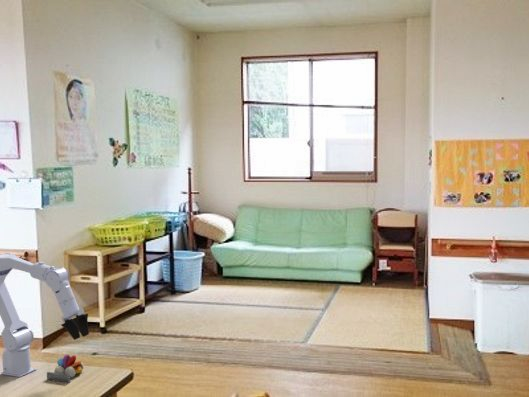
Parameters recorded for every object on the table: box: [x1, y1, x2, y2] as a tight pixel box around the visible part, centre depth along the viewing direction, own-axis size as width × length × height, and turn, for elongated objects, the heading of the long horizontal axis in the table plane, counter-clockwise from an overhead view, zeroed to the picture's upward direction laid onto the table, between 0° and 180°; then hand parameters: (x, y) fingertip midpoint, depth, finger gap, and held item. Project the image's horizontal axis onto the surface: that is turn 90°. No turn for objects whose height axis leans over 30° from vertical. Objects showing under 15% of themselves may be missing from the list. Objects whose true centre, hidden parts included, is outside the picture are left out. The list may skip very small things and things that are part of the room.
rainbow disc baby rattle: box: [53, 354, 84, 379], centre depth 206 cm, size 8×10×7 cm
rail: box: [46, 371, 71, 384], centre depth 200 cm, size 10×1×2 cm, turn 66°
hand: (81, 337), depth 201 cm, fingers open, 7 cm apart
